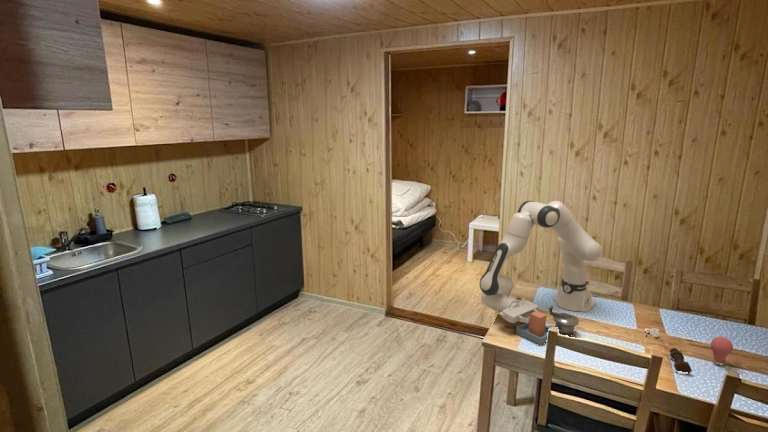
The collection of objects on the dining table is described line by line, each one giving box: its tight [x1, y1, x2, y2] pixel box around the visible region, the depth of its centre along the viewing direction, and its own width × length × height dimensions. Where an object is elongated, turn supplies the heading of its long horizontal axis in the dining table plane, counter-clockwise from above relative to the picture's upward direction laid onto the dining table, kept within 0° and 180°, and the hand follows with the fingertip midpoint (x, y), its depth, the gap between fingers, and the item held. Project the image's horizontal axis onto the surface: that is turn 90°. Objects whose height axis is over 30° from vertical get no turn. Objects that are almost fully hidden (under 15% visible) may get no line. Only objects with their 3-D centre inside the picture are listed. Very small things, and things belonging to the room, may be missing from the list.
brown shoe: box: [669, 347, 692, 374], centre depth 170 cm, size 6×5×15 cm
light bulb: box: [710, 336, 734, 363], centre depth 170 cm, size 7×7×12 cm
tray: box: [515, 322, 551, 346], centre depth 190 cm, size 13×13×4 cm
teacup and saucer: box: [644, 327, 660, 338], centre depth 193 cm, size 9×8×4 cm
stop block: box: [528, 310, 547, 337], centre depth 189 cm, size 5×5×10 cm
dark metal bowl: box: [548, 305, 580, 337], centre depth 194 cm, size 13×11×11 cm
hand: (535, 318), depth 190 cm, fingers open, 8 cm apart
